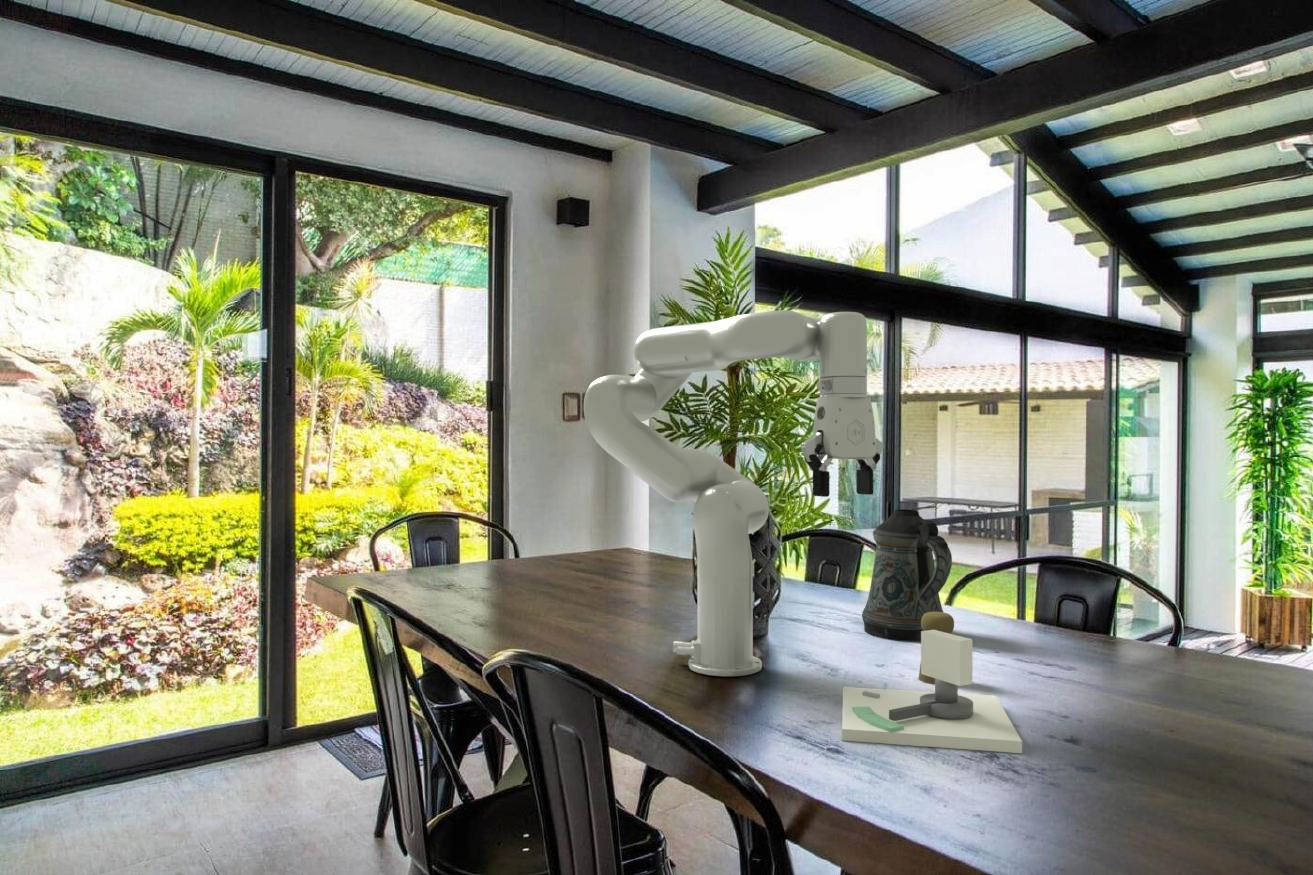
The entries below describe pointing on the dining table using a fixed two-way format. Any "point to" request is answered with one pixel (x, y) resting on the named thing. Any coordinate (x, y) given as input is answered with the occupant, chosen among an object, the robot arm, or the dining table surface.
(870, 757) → the dining table surface
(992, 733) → the dial board
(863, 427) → the robot arm
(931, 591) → the beer stein
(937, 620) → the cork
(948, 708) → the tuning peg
